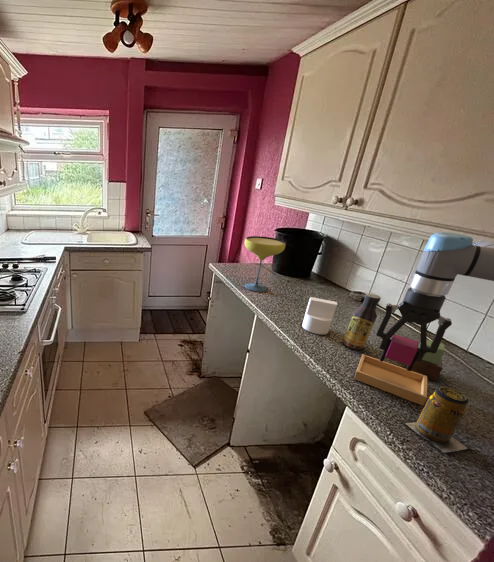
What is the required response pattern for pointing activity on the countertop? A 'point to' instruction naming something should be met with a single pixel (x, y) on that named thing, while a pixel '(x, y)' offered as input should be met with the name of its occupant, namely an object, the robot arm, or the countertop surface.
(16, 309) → the countertop surface
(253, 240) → the cocktail glass
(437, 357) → the sage block
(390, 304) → the robot arm
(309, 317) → the base with upright slab
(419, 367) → the walnut block
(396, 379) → the oak tray
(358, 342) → the sauce bottle
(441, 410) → the condiment
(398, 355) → the mulberry block
